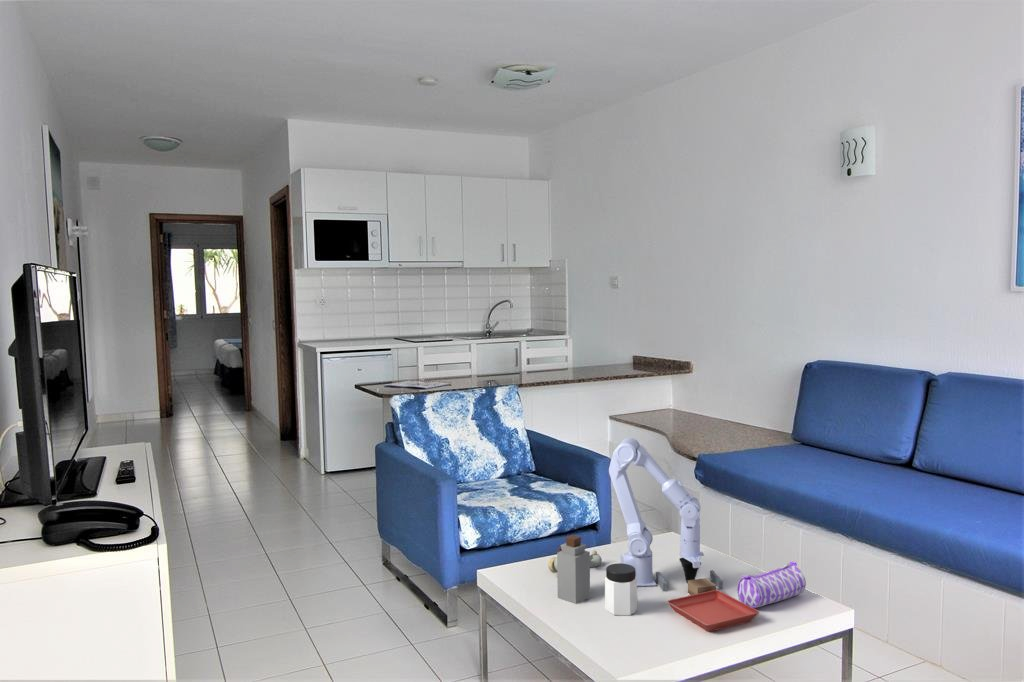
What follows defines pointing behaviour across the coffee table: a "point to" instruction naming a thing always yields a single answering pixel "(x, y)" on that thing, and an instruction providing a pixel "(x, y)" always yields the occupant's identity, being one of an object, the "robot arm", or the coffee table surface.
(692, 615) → the plant saucer
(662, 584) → the lane
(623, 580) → the jar
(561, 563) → the perfume bottle
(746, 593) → the pencil case
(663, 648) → the coffee table surface
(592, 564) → the toy dog
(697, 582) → the walnut block
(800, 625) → the coffee table surface
